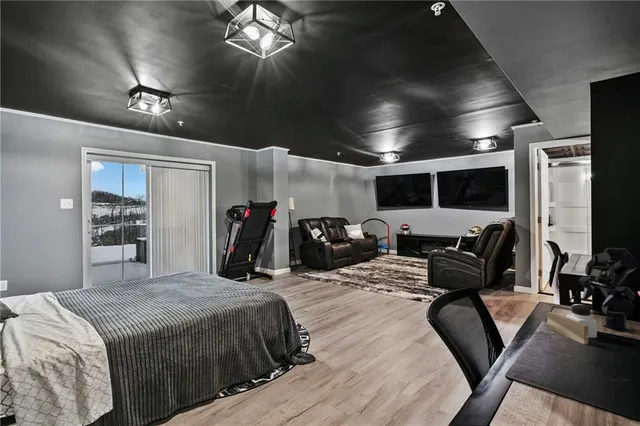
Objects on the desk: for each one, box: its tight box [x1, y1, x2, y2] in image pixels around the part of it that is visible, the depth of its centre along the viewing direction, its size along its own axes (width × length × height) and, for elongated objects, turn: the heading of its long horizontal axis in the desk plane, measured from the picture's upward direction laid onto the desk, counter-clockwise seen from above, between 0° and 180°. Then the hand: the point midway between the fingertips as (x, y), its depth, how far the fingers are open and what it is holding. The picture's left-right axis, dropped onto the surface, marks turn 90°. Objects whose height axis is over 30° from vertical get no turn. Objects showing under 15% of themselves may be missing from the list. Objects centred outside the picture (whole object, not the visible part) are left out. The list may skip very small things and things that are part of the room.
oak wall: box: [546, 311, 589, 345], centre depth 129 cm, size 2×16×7 cm, turn 10°
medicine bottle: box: [565, 303, 598, 339], centre depth 130 cm, size 7×7×12 cm
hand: (592, 303), depth 131 cm, fingers open, 8 cm apart
